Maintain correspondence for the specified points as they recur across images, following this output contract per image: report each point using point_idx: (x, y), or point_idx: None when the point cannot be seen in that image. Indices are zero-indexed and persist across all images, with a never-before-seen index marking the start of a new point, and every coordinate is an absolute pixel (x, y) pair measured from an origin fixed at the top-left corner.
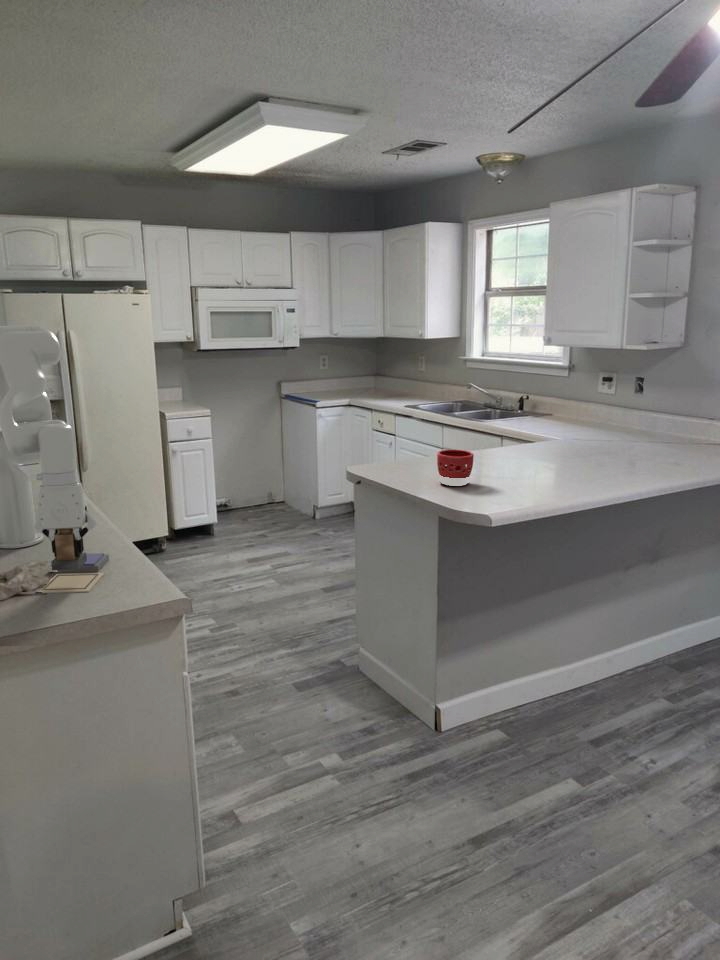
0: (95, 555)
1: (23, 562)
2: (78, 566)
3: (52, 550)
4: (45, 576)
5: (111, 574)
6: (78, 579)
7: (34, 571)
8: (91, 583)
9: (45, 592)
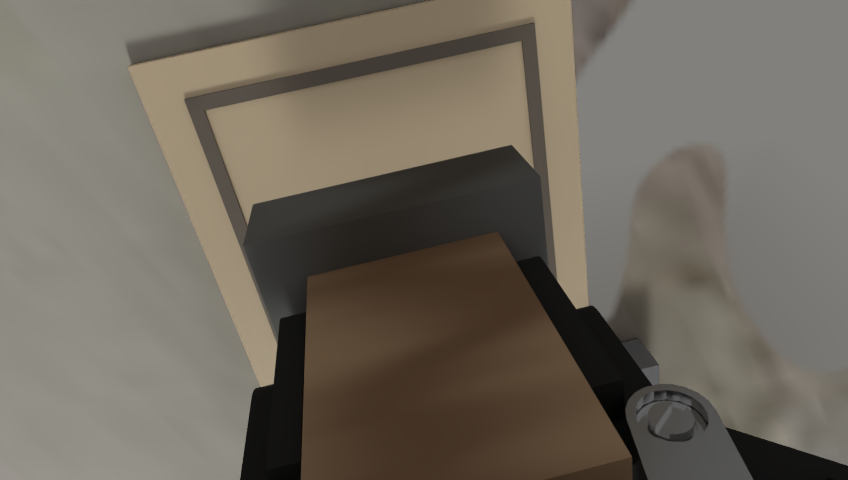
0: None
1: (838, 437)
2: (251, 220)
3: (599, 317)
4: (636, 289)
5: (214, 397)
6: None
7: (735, 345)
8: (219, 214)
9: None
